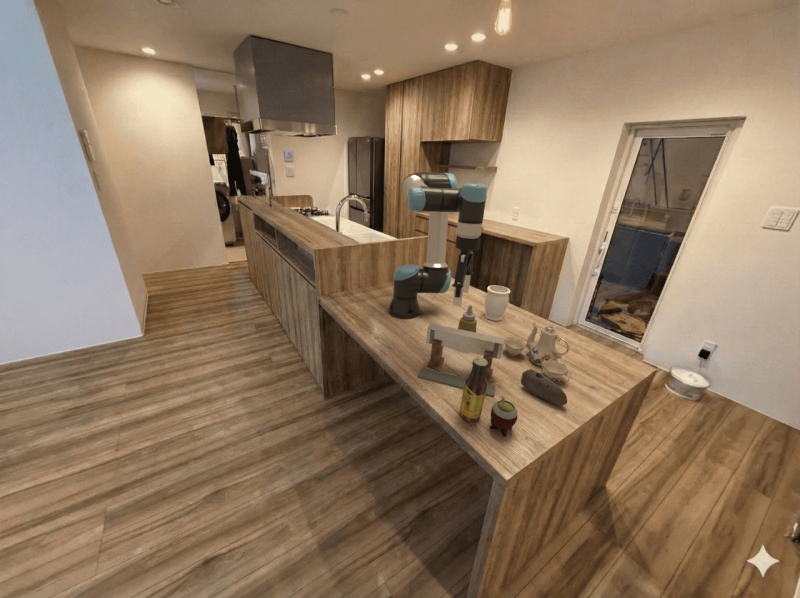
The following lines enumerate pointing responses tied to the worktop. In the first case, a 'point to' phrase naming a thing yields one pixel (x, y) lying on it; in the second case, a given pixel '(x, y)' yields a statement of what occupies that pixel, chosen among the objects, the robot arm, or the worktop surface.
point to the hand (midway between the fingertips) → (460, 298)
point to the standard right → (488, 370)
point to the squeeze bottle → (468, 321)
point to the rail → (465, 340)
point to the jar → (496, 302)
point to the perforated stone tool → (543, 387)
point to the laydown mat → (449, 379)
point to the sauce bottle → (474, 390)
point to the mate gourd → (503, 416)
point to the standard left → (436, 356)
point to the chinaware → (541, 351)
